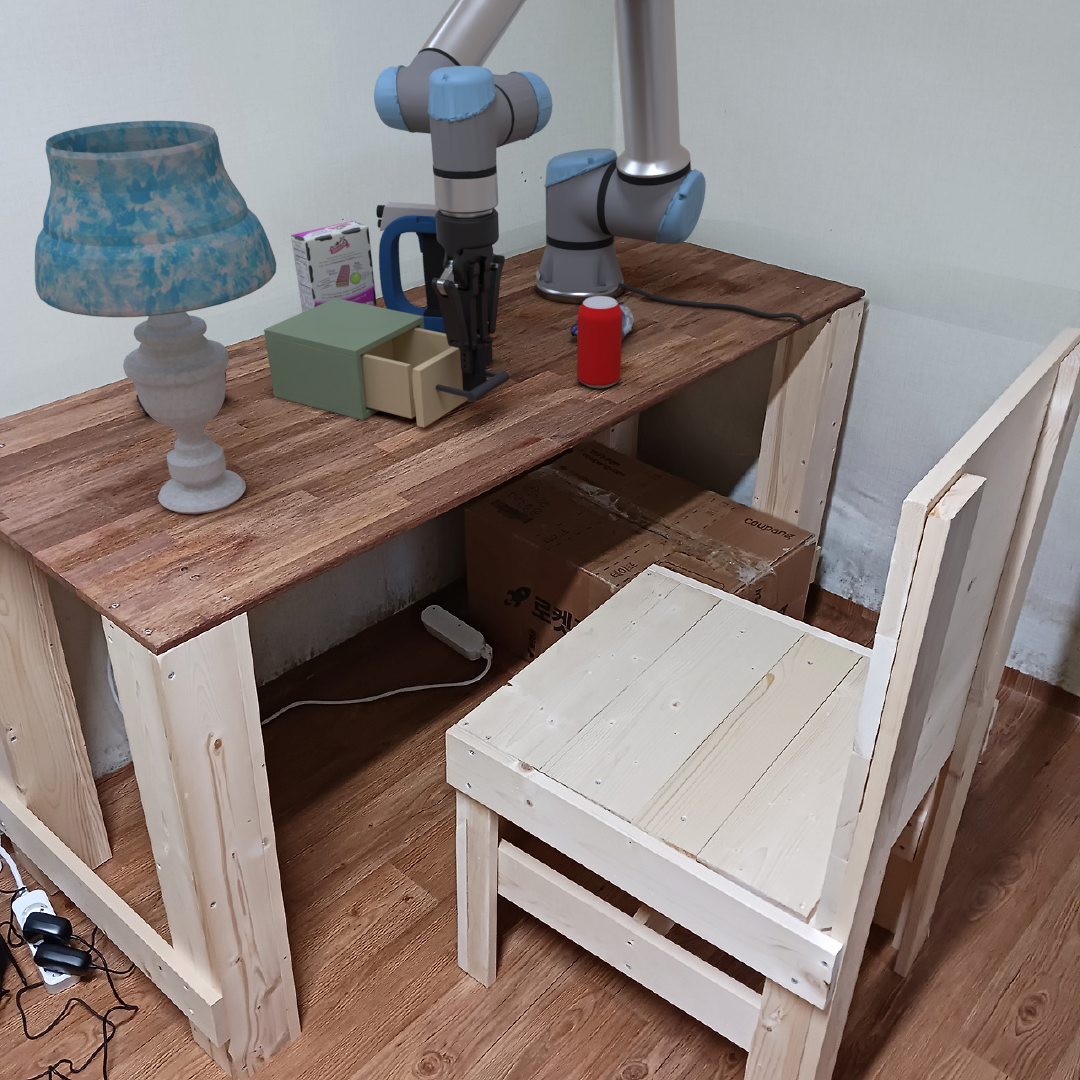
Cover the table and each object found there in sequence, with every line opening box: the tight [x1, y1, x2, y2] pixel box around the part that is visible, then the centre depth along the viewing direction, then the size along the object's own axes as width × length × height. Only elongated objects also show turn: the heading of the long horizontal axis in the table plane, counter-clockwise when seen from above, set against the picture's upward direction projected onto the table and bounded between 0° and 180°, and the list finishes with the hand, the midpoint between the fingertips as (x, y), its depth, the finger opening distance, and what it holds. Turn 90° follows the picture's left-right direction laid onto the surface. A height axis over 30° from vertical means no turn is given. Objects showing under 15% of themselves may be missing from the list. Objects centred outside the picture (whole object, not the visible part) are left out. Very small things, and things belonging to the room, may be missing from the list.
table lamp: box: [34, 120, 277, 515], centre depth 114 cm, size 24×24×40 cm
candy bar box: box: [290, 220, 378, 313], centre depth 166 cm, size 11×5×16 cm, turn 131°
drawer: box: [360, 327, 510, 428], centre depth 142 cm, size 21×14×8 cm, turn 59°
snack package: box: [570, 295, 635, 345], centre depth 166 cm, size 12×6×12 cm
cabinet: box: [263, 298, 424, 421], centre depth 148 cm, size 16×15×10 cm
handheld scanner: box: [375, 201, 446, 334], centre depth 166 cm, size 5×16×20 cm, turn 78°
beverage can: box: [576, 296, 623, 389], centre depth 149 cm, size 6×6×12 cm
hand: (474, 392), depth 139 cm, fingers closed
